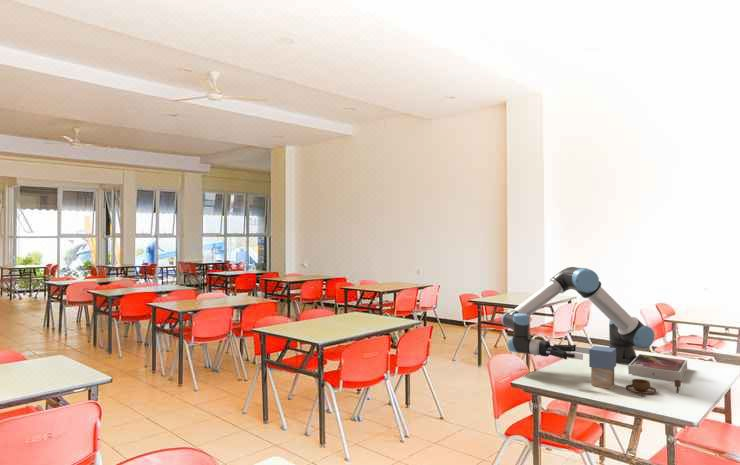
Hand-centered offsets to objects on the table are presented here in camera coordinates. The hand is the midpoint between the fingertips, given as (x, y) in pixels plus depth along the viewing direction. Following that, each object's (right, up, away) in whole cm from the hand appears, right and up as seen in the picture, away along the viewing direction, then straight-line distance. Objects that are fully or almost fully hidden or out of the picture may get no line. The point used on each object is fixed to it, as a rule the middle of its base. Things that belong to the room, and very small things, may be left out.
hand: (586, 353), depth 232 cm
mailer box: (+6, -13, -4) cm, 15 cm away
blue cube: (+6, -5, -4) cm, 8 cm away
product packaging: (+43, -14, +17) cm, 49 cm away
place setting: (+22, -14, -15) cm, 30 cm away
